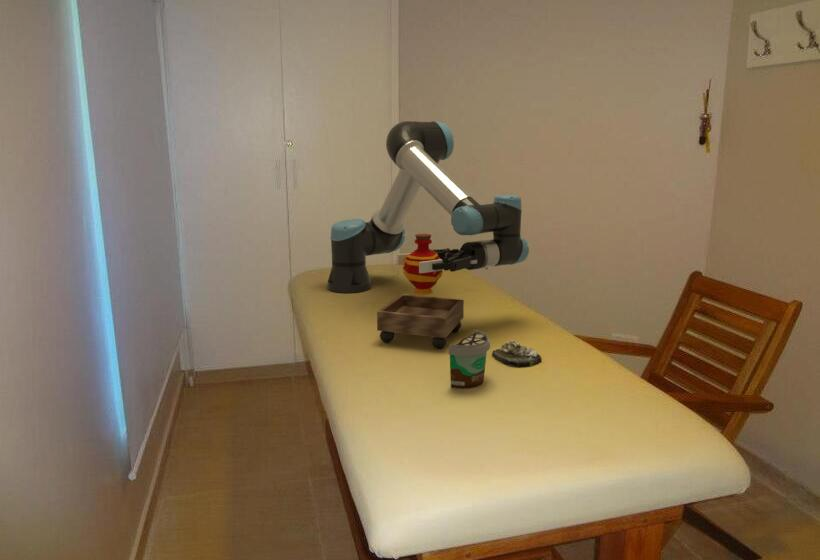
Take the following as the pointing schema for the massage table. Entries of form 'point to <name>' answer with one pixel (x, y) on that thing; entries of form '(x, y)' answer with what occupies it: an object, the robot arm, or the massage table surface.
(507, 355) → the grey lumpy piece
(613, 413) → the massage table surface
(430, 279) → the potion bottle
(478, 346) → the food container
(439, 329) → the dolly
